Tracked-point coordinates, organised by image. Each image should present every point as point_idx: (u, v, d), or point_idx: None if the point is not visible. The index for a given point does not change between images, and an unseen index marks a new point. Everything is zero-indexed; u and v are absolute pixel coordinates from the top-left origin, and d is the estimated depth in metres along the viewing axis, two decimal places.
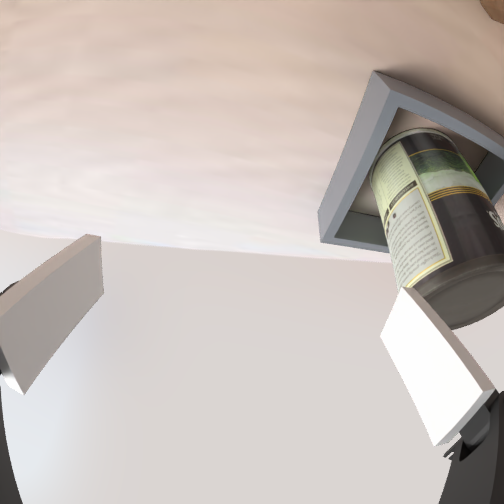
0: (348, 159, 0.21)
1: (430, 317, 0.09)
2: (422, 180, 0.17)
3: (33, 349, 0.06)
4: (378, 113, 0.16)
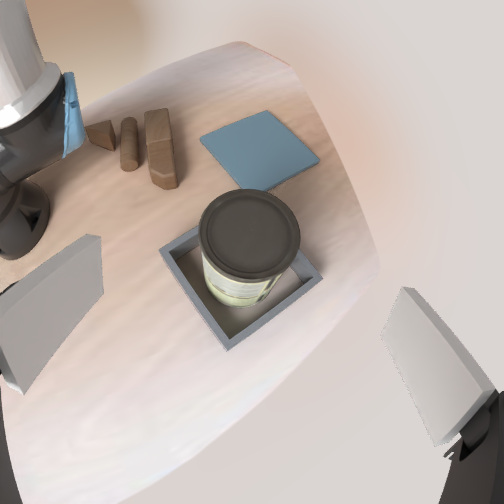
0: (190, 299, 0.37)
1: (430, 317, 0.09)
2: None
3: (33, 349, 0.06)
4: (166, 262, 0.37)
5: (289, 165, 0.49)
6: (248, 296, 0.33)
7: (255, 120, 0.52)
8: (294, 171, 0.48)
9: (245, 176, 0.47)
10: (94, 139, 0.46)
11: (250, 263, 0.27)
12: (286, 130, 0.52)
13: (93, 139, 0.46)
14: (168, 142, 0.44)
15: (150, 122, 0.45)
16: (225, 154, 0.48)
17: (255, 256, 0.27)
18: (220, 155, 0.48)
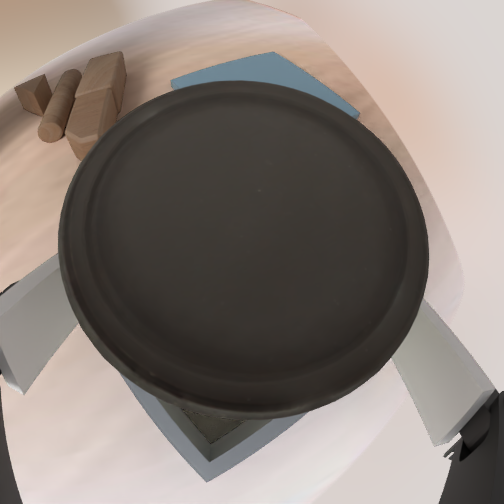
0: None
1: (430, 317, 0.09)
2: None
3: (33, 349, 0.06)
4: None
5: None
6: None
7: (256, 61, 0.31)
8: None
9: None
10: (24, 103, 0.25)
11: (258, 334, 0.06)
12: (304, 73, 0.31)
13: (23, 103, 0.25)
14: (105, 91, 0.22)
15: (91, 69, 0.24)
16: None
17: (282, 300, 0.06)
18: None
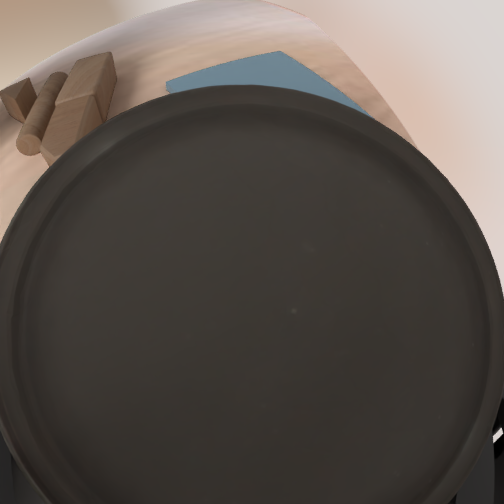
0: None
1: None
2: None
3: None
4: None
5: None
6: None
7: (262, 61, 0.28)
8: None
9: None
10: (9, 109, 0.21)
11: None
12: (315, 76, 0.28)
13: (8, 108, 0.22)
14: (87, 98, 0.19)
15: (75, 72, 0.20)
16: None
17: (323, 491, 0.03)
18: None
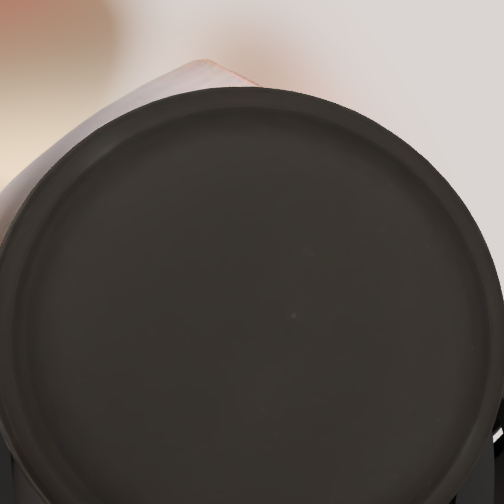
0: None
1: None
2: None
3: None
4: None
5: None
6: None
7: None
8: None
9: None
10: None
11: None
12: None
13: None
14: None
15: None
16: None
17: (322, 494, 0.03)
18: None
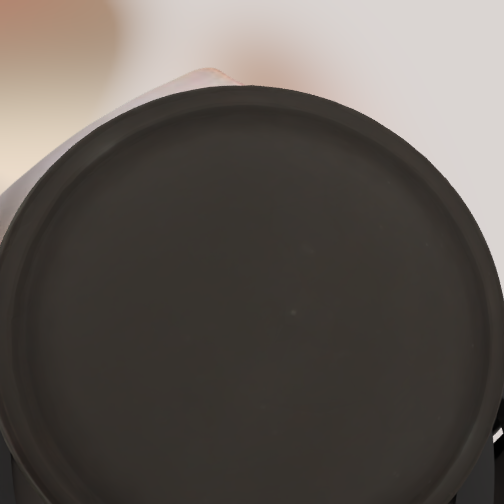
0: None
1: None
2: None
3: None
4: None
5: None
6: None
7: None
8: None
9: None
10: None
11: None
12: None
13: None
14: None
15: None
16: None
17: (323, 491, 0.03)
18: None
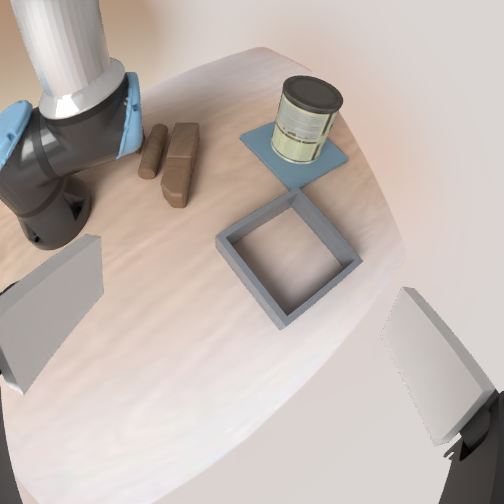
0: (246, 282, 0.40)
1: (430, 317, 0.09)
2: (276, 119, 0.47)
3: (33, 349, 0.06)
4: (223, 247, 0.40)
5: (323, 163, 0.52)
6: (311, 139, 0.45)
7: None
8: (328, 168, 0.52)
9: (286, 171, 0.50)
10: None
11: (317, 103, 0.39)
12: None
13: None
14: (187, 160, 0.45)
15: (177, 135, 0.47)
16: (265, 151, 0.52)
17: (319, 101, 0.40)
18: (261, 152, 0.52)
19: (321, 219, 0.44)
